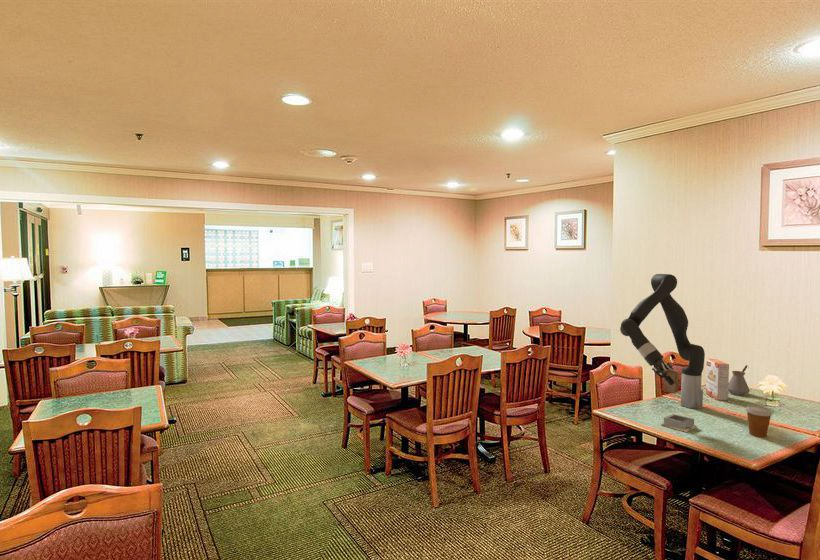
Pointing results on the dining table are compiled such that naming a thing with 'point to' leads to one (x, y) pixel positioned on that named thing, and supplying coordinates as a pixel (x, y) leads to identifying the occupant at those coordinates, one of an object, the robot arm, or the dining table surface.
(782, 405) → the dining table surface
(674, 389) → the block
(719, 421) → the dining table surface
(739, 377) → the coffee pot
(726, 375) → the cracker box
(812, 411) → the dining table surface
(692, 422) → the gray square tray
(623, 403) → the dining table surface
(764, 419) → the disposable coffee cup
